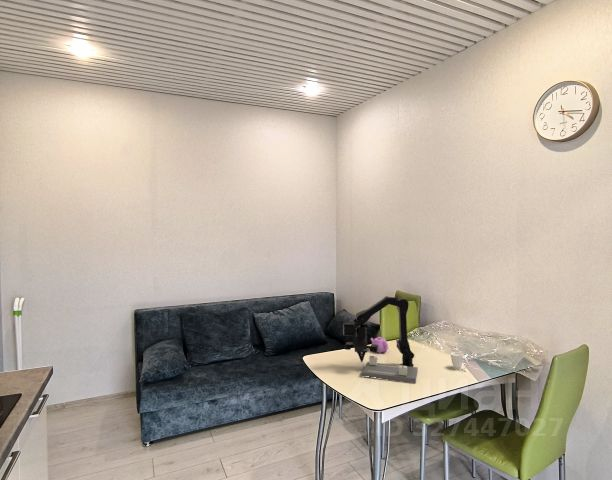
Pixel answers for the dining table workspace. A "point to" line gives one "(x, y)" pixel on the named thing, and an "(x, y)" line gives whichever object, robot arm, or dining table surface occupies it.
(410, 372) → the console
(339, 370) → the dining table surface
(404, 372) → the sage fader
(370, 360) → the block
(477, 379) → the dining table surface
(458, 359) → the cup
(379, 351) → the teapot
